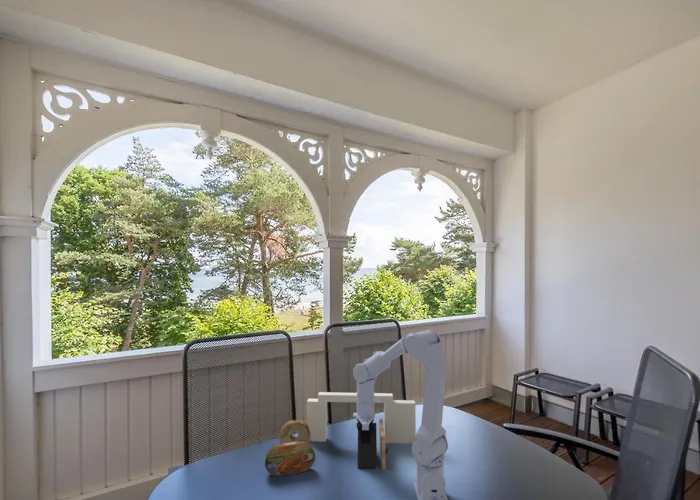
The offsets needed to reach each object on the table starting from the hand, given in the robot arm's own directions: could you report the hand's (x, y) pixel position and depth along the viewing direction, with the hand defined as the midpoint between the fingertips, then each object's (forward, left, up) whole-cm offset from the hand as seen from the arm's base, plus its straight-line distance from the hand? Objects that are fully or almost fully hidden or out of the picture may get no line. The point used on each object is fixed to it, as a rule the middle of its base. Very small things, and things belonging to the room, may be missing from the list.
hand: (365, 443), depth 115 cm
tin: (-7, +23, -6) cm, 25 cm away
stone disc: (+6, +24, -6) cm, 26 cm away
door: (+4, -6, -5) cm, 9 cm away
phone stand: (0, -1, -6) cm, 6 cm away
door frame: (+14, +2, -6) cm, 15 cm away
